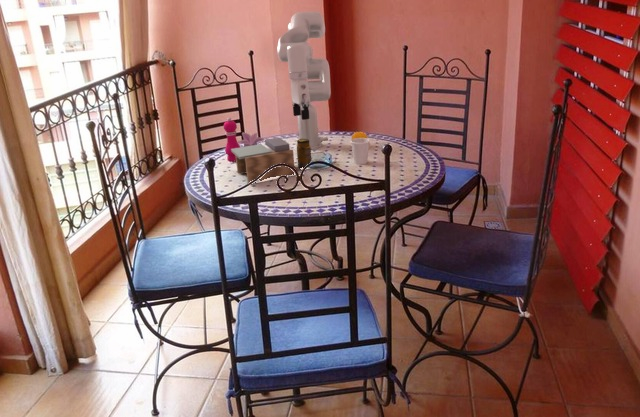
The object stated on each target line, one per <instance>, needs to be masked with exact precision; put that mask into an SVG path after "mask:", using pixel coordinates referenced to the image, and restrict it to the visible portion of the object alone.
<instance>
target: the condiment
mask: <svg viewBox="0 0 640 417" xmlns="http://www.w3.org/2000/svg"><path fill="white" fill-rule="evenodd" d="M309 144H310V143H309V139H297V141H296V157H297V158H296V159H297V164H294V166H295V167H297V168H298V171H302V170H301V169H300V168H302V167H303V168H304V167H305V166H306V165H307V164H309V163H310V161H312V150H311V147H310V145H309ZM297 145H298V146H297ZM308 170H310V169H308Z"/></svg>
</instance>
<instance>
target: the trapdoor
mask: <svg viewBox="0 0 640 417" xmlns="http://www.w3.org/2000/svg"><path fill="white" fill-rule="evenodd" d="M264 143H265V144H264ZM257 144H258V143H257ZM290 147H291V146H290V143H289V142H287V141H285V140H284V139H282V138H280V137H274V138H273V137H272V138H267V139H265V140H264V142H261V143H260V144H258V145H252V146H246V147H244V146H242V147H241V146H240V148H234V149H231V152H232V153H234V154H235V155H236V156H237V157H238V158H239V159H245V157H251V156H257V155H263V154H268V153H274V152H280V151H286V150H291V148H290Z"/></svg>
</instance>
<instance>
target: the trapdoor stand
mask: <svg viewBox="0 0 640 417" xmlns="http://www.w3.org/2000/svg"><path fill="white" fill-rule="evenodd" d="M263 143H264V144H265V142H263ZM235 156H236V155H235ZM235 162H236V163H235V164H236V170H237V171H236V173H237V174H245V173H246V178H247V179H246V180H247V184H248V183H249V182H250V181H252V180H254V179H256V178H257V177H258V176H259V175H261V174H262V173H263V172H264V171H265V170H267V169H268V168H270V167H271V166H273V165H276V164H280V163H285V164H288V165H290V166H292V167H294V168H295V169H296V171H297V172H298V173H299V169H298V168H297V167H295V156H294V149H290V150H286V151H280V152H274V153H268V154H263V155H257V156H251V157H245V159H239V158H238V157H237V156H236V161H235ZM292 174H293V175H294V172H293V171H292V170H291V169H290V168H288V167H285V166H281V167H276V168H273V169H272V170H270V171H269V172H267V173H266V174H265V175H264V176H263V177H262V178H261V179H259V180H260V181H262V180H264V179H267V178H270V177H276V176H281V175H286V176H287V175H292ZM255 184H257V183H256V182H255Z"/></svg>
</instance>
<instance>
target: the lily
mask: <svg viewBox="0 0 640 417" xmlns="http://www.w3.org/2000/svg"><path fill="white" fill-rule="evenodd" d="M241 135H242V137H243V139H240V140H239V141H237V142H238V144H243V147H246V146H252V145H258V143H259V142H263V141H265V140H266V139H265V138H263V137H261V136H260V137H257V136H258V133H257V132H255V133H253V134H249V133H248V132H242V133H241Z"/></svg>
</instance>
